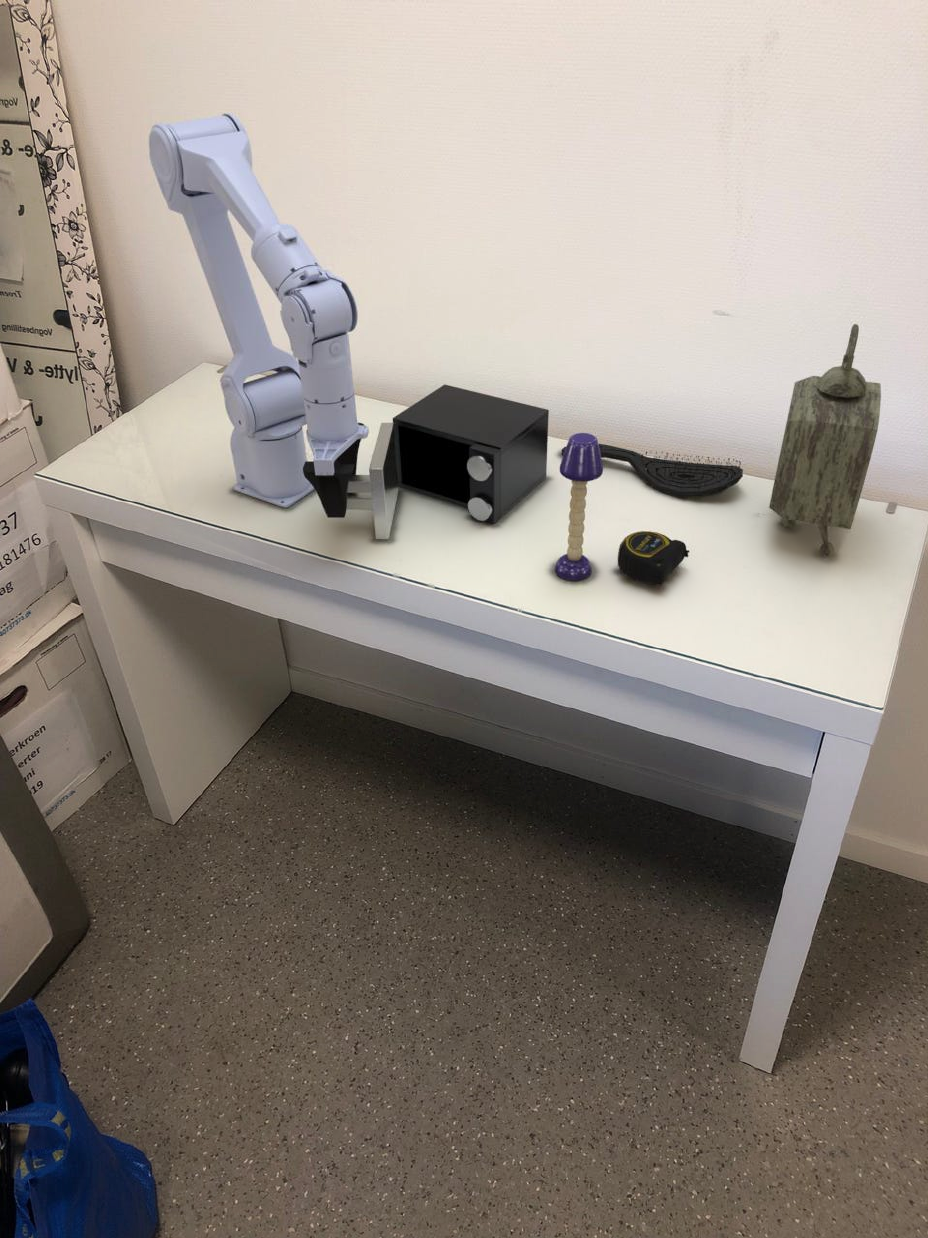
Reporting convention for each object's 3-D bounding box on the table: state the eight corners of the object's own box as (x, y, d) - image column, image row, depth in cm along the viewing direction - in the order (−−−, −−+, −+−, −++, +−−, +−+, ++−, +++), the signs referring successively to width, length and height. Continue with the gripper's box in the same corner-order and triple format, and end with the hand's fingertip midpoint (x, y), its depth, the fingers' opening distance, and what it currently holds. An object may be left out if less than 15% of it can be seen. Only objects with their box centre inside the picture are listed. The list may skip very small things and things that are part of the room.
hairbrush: (575, 422, 130) (752, 453, 119) (575, 446, 132) (748, 478, 121) (549, 447, 124) (732, 481, 113) (550, 471, 126) (729, 507, 116)
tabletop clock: (840, 567, 105) (898, 357, 90) (759, 553, 108) (802, 347, 93) (845, 505, 116) (898, 308, 101) (771, 494, 119) (811, 300, 103)
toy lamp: (553, 557, 108) (559, 428, 98) (593, 557, 108) (603, 427, 98) (555, 581, 105) (562, 449, 94) (596, 581, 104) (607, 448, 94)
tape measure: (659, 596, 102) (663, 568, 100) (605, 575, 105) (607, 548, 103) (687, 567, 106) (691, 540, 104) (634, 548, 109) (637, 522, 107)
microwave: (490, 528, 114) (490, 455, 108) (386, 495, 121) (380, 425, 115) (546, 478, 123) (548, 409, 117) (447, 450, 130) (444, 383, 124)
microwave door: (328, 539, 112) (319, 468, 106) (343, 489, 122) (335, 422, 116) (388, 539, 112) (382, 469, 106) (398, 489, 122) (393, 422, 116)
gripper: (355, 422, 96) (366, 532, 105) (372, 367, 108) (381, 470, 116) (288, 422, 97) (305, 531, 105) (312, 367, 108) (326, 469, 116)
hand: (341, 499), depth 111 cm, fingers open, 7 cm apart
